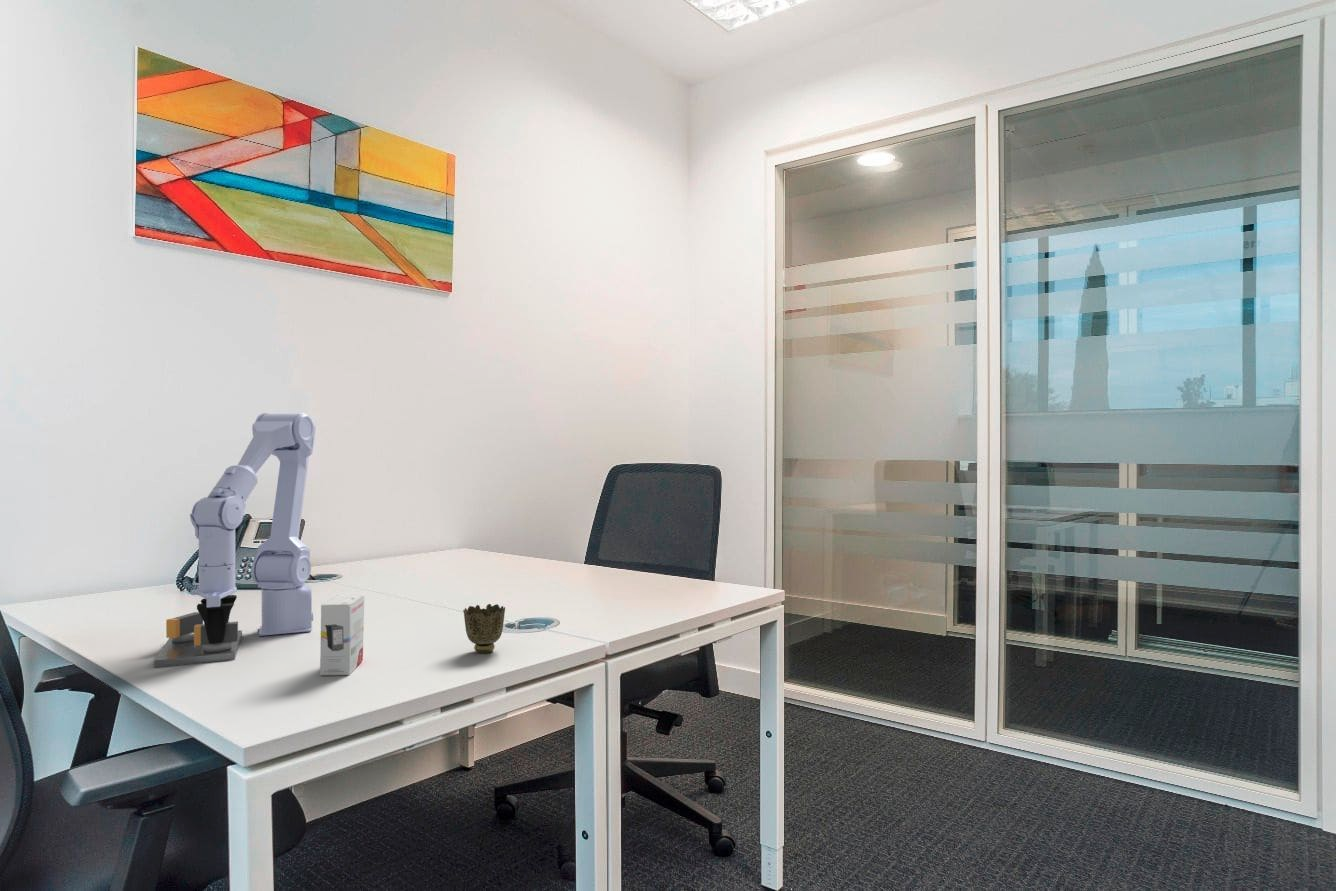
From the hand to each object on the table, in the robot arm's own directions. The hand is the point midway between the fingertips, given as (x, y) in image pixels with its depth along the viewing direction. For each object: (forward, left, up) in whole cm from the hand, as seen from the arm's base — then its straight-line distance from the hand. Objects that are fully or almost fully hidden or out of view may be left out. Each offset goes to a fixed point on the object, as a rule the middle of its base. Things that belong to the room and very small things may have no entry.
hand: (217, 640), depth 141 cm
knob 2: (0, 0, -2) cm, 2 cm away
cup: (-44, +17, -3) cm, 47 cm away
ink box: (-20, +18, -3) cm, 27 cm away
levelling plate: (+3, -5, -3) cm, 6 cm away
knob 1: (+6, -10, -2) cm, 12 cm away
